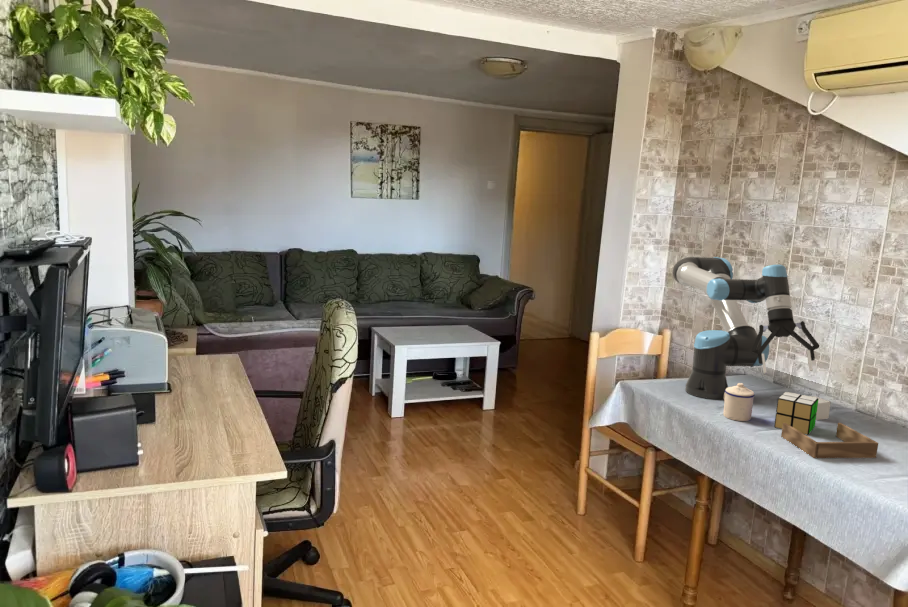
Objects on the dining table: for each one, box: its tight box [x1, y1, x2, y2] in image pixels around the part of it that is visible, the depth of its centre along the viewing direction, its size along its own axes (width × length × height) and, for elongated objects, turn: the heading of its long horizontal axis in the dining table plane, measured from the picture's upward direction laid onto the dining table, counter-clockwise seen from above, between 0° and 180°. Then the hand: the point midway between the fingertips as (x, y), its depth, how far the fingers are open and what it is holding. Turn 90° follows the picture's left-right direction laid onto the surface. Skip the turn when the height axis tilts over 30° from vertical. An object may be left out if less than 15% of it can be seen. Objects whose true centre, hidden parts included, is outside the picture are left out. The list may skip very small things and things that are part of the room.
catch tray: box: [780, 422, 879, 459], centre depth 191 cm, size 16×19×4 cm
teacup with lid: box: [722, 382, 756, 422], centre depth 216 cm, size 12×9×12 cm
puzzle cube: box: [773, 391, 819, 436], centre depth 207 cm, size 10×10×10 cm
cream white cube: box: [812, 395, 831, 421], centre depth 218 cm, size 6×6×6 cm
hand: (787, 372), depth 212 cm, fingers open, 13 cm apart
